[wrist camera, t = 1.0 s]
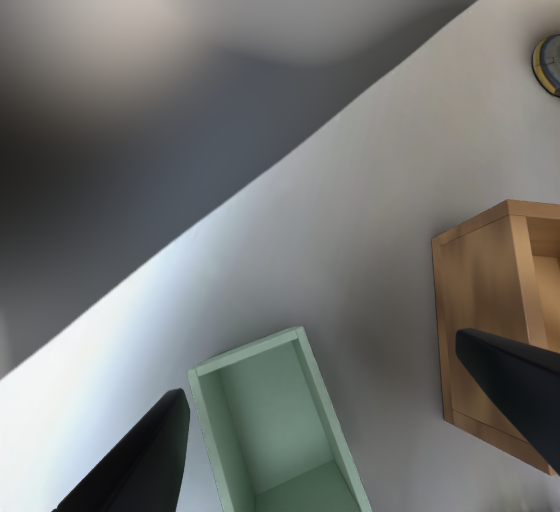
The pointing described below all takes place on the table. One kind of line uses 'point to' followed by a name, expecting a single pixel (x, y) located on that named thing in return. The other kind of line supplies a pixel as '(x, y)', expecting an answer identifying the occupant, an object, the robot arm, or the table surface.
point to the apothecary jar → (548, 63)
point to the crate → (497, 306)
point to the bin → (274, 430)
